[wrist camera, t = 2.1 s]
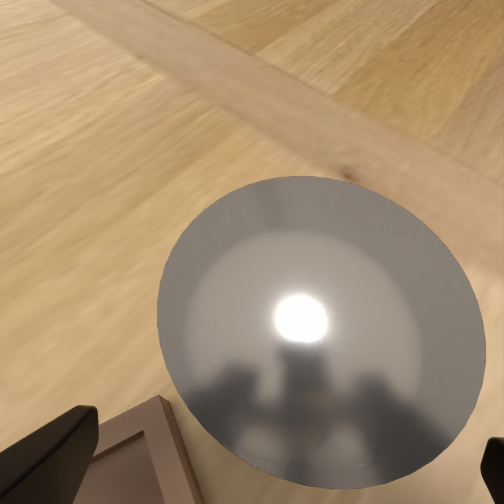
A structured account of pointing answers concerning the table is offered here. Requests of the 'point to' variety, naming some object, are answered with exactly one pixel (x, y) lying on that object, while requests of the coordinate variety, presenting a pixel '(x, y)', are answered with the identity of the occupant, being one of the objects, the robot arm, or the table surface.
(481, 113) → the table surface
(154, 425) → the tray
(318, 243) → the shaker
